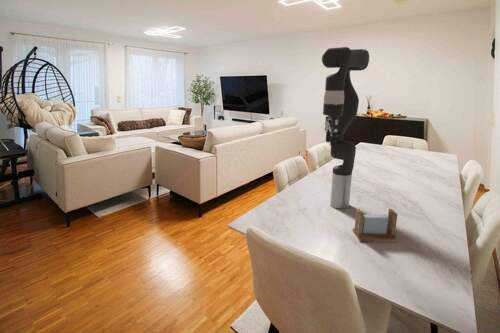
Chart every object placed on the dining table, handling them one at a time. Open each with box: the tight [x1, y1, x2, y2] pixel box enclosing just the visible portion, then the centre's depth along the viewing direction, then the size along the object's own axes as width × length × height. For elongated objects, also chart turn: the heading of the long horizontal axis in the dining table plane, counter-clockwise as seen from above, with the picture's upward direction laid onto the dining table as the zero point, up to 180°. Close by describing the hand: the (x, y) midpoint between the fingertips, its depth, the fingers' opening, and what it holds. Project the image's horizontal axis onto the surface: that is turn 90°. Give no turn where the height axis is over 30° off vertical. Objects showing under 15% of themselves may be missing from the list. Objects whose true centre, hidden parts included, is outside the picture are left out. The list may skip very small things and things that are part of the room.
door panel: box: [362, 214, 388, 234], centre depth 116 cm, size 2×9×8 cm, turn 87°
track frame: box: [351, 208, 399, 244], centre depth 116 cm, size 10×14×11 cm
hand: (330, 143), depth 117 cm, fingers open, 8 cm apart
